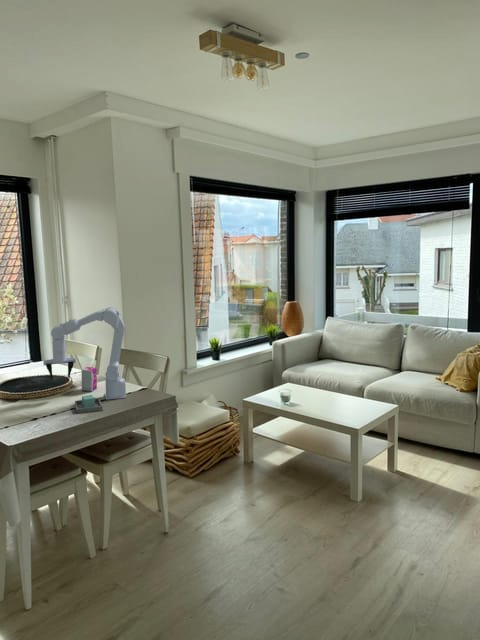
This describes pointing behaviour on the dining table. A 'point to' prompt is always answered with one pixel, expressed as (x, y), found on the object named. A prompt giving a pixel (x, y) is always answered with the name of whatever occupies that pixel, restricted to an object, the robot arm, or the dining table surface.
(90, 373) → the supplement box
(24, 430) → the dining table surface
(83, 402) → the teal block
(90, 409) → the tray
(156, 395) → the dining table surface
